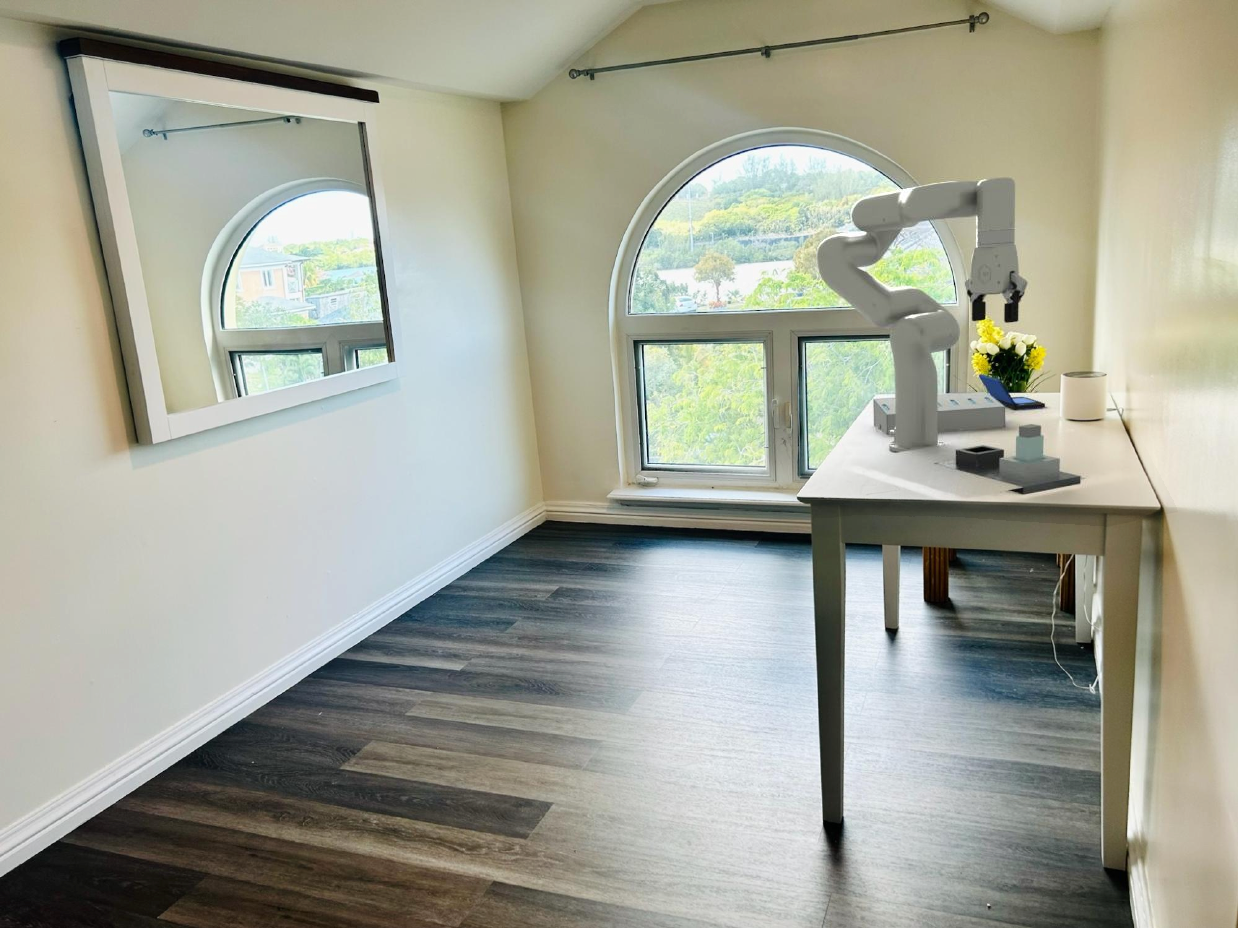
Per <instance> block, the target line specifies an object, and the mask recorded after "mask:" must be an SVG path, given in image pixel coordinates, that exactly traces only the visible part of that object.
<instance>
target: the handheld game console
mask: <svg viewBox="0 0 1238 928" xmlns="http://www.w3.org/2000/svg"><path fill="white" fill-rule="evenodd" d="M978 377H979V380H981V383H982V384H983V386H984V387H985V389H986V390H987V393H989V394H990V395H991V396H992V397H994V398H995V399H996V400H998V401H999V402H1000V403H1001V404H1003V405H1004V406H1005V409H1009V410H1011V411H1020V410H1021V411H1022V410H1035V409H1036V410H1037V409H1044V408H1046V403H1044V402H1042V401H1040V400H1035V399H1033V398H1029V397H1026V396H1016V397H1015V396H1014V397H1012V396H1011V394H1010V393H1009V391H1008V389H1007V388H1006V386H1005V385H1004V383H1003V381H1002V380H1001V379H1000V378H997V377H993V376H988V375H985V374H980V373H979V374H978Z"/></svg>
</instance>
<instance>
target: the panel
mask: <svg viewBox="0 0 1238 928" xmlns="http://www.w3.org/2000/svg"><path fill="white" fill-rule="evenodd" d="M1060 461H1061V458H1059V457H1054V456H1051V455H1046V454H1043V459H1041V460H1036V461H1030V462H1024V461H1020V460H1016V455H1011V456H1005V449H1002V448H998V447H993V446H989V445H984V444H981V445H975V446H970V447H969V446H968V447H963V448H957V449H955V459H951V460H945V461H940V462H934V463H933V465H938V466H941V467H945V468H949V469H953V470H957V471H960V472H965V473H967V474H970V475H971V474H972V475H975V476H980V477H984V478H987V479H992V480H993V481H994V480H995V481H999V482H1002V483H1007V484H1009V485H1014V486H1018V488H1017V487H1016V488H1012V489H1008V490H1007V491H1009V492H1013V493H1016V494H1020V495H1023V496H1024V495H1029V494H1033V493H1038V492H1044V491H1049V490H1054V489H1060V488H1065V487H1070V486H1076V485H1080V484H1081V482H1082V480H1081V478H1082V476H1081V475H1077V474H1074V473H1068V472H1065V471H1061V470H1060V469H1061V467H1060V466H1061V462H1060Z"/></svg>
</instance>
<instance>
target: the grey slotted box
mask: <svg viewBox="0 0 1238 928" xmlns="http://www.w3.org/2000/svg"><path fill="white" fill-rule="evenodd" d="M872 402H873V426H875V427H876V428H877V429H879V430H880V431H881V432H882V433H884V434H886V435H887V436H891V435H890V434H889V431H890V430H894V428H895V427H896V417H895V397H886V398H884V397H883V398H873V401H872ZM1005 427H1006V407H1005V406H1004V405H1003V404H1001V403H1000V402H999V401H998V400H996V399H995V398H994V397H992V396H991V395H990V393H989V392H988V391H986V390H985V391H984V390H983V391H971V392H956V393H955V392H954V393H944V394H943V393H942V394H938V432H945V431H946V432H947V431H950V430H951V431H961V430H960V429H965V430H977V429H992V428H994V429H995V428H1005Z"/></svg>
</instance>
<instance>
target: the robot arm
mask: <svg viewBox="0 0 1238 928" xmlns="http://www.w3.org/2000/svg"><path fill="white" fill-rule="evenodd" d="M973 217H976V219H975V222H976V227H975V228H976V230H975V231H976V232H975V235H976V236H975V243H976V245H975V247H973V251H972V255H971V261H970V273H969V276H970V277H969V278H968V279H967V280H966V281H964V287H965V288H966V291H967V292H966V294H967V296H968V297H969V302H970V303H971V321H972V322H978V321H979V322H980V321H985V320H986V319H987V318H986V316H987V315H986V312H987V309H986V307H987V306H986V304H987V303H986V301H984V300H985V298H986V296H987V295H1000V294H1002V296H1003V298H1004V300H1005V301H1006V303H1004V308H1003V311H1004V312H1003V313H1004V314H1003V316H1004V318H1003V320H1004V321H1003V322H1004V323H1005V324H1006V323H1007V324H1009V323H1016V322H1017V323H1018V322H1019V308H1020V307H1019V306H1020V305H1019V304H1020V303H1021V301H1022V298H1023V296H1025V291H1026V288H1027V286H1028V283H1029V282H1028V281H1027V280H1026V279H1025V278H1023V277H1022V276H1020V270H1019V257H1018V251H1017V245H1016V244H1015V237H1016V235H1015V233H1016V229H1015V227H1016V226H1015V225H1016V224H1015V223H1016V183H1015V180H1014V179H1013V178H1012V177H993V178H992V177H991V178H987V179H982V180H961V181H960V180H955V181H943V182H936V183H930V184H926V185H919V186H914V187H909V188H905V189H904V188H903V189H900V190H895V191H889V192H883V193H878V194H873V195H867V196H865V197H862V198H860V199H858V201H856V202H855V204H854V205H853V206H852V208H851V211H850V220H851V222H852V225H853V226H854V228H856V229H857V230H859V231H860V232H848V233H847V232H846V233H838V234H834V235H831V236H829V237H827V238H825V239H823V240H822V242H820V244H819V245H818V247H817V251H816V265H817V266H816V267H817V269H818V273H819V275H820V278H822V280H823V282H824V283H825V285H826V286H827V287H829V289H831V290H832V291H833V292H834V293H836V295H838V296H839V297H840V298H842V299H843V300H844V301H846V302H847V303H848V304H849V305H851V307H852V308H854V309H855V310H856V311H857V312H858V313H860V315H862V316H863V317H864V318H865V319H867V321H869V322H870V323H871V324H873V326H875V327H876V328H879V329H885V330H886V329H890V332H889V333H890V334H889V343H890V348H891V354H892V358H893V367H894V395H895V396H894V398H895V417H896V427H895V428H894V430H890V431H889V434H890V435H889V436H893V441H891V442H890V443H889V444H888V447H889V450H891V451H892V452H896V453H903V452H908V451H914V450H921V449H926V448H932V447H938V446H944V445H945V442H944V441H942V440H939V438H938V437H939V436H938V434H939V431H938V395H939V394H938V389H939V388H938V385H939V384H938V371H937V366H936V363H935V361H934V359H933V356H932V354H933V353H938V352H939V353H940V352H943V351H947V350H949V349H951V348H952V347H954V346H955V344H957V342H958V340H959V338H960V334H961V331H960V330H961V329H960V324H959V322H958V320H957V319H956V317H955V316H954V315H953V314H952V313H951V312H950V311H949V310H948V309H947V308H945V307H944V306H943V305H941V304H940V303H939V302H938V301H936V300H935V299H934V298H932V297H931V296H930V295H929V294H927V293H926V292H925V291H923V290H922V289H920V288H917V287H913V286H907V285H906V286H896V287H893V286H887V285H885V284H884V283H883V282H881V281H880V280H878V279H877V278H876V277H875V276H874V275H872V274H871V273H869V272H867V271H866V270H863V269H861V268H866V267H870V266H873V265H874V264H876V263H878V262H879V261H881V259H882V258H883V257H884V255H885V253H886V252H887V251H888V250H889V248H890V247H891V245H892V244H893V243H894V242H895V240H896V239H897V237H898V236H899V234H900V233H901V232H902V230H903V229H905V228H906V229H907V228H913V227H915V226H916V225H918V224H919V223H921V222H929V221H934V220H943V219H946V220H947V219H956V218H957V219H958V218H973Z"/></svg>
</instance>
